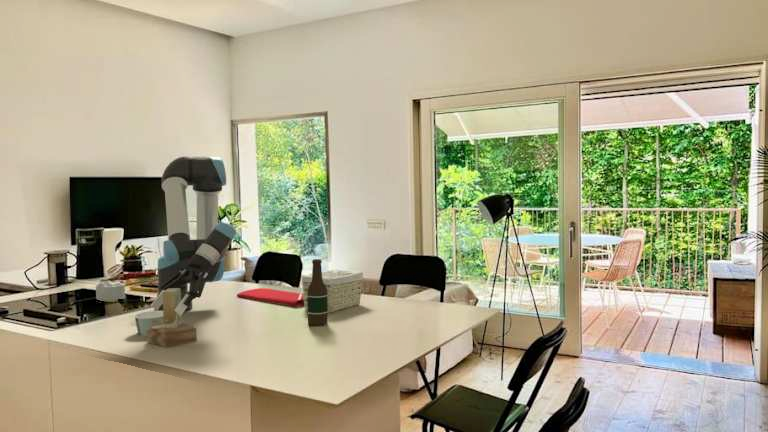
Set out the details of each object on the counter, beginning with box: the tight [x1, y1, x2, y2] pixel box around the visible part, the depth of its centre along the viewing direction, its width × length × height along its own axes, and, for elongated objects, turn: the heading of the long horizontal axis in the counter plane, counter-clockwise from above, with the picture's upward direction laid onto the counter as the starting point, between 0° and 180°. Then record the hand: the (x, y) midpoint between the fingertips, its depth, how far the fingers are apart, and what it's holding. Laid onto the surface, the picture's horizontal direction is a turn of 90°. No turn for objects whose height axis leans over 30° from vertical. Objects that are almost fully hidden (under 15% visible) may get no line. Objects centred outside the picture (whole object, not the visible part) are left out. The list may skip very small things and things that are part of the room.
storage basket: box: [301, 269, 364, 314], centre depth 245 cm, size 24×16×15 cm
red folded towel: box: [236, 287, 304, 307], centre depth 263 cm, size 16×41×4 cm, turn 50°
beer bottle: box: [307, 258, 329, 327], centre depth 214 cm, size 8×8×24 cm
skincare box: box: [163, 288, 183, 328], centre depth 191 cm, size 6×4×12 cm
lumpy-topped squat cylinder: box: [95, 280, 126, 301], centre depth 265 cm, size 10×13×9 cm
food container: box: [133, 310, 164, 337], centre depth 204 cm, size 12×12×6 cm
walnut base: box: [147, 322, 198, 349], centre depth 191 cm, size 11×11×5 cm
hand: (165, 310), depth 189 cm, fingers open, 13 cm apart
